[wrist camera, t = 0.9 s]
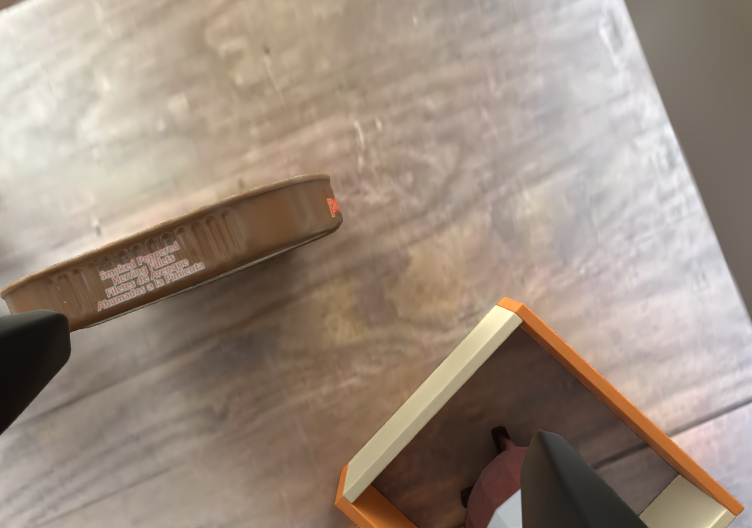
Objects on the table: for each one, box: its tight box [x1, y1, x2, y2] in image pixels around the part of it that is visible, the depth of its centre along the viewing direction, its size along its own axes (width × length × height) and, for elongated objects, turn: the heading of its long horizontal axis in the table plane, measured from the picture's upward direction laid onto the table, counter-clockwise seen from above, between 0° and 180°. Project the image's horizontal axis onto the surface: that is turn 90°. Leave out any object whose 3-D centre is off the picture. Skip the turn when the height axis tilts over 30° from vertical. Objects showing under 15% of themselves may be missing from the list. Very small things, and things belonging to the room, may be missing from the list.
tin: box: [0, 173, 343, 333], centre depth 21 cm, size 15×3×8 cm, turn 111°
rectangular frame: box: [335, 297, 744, 528], centre depth 23 cm, size 13×14×4 cm
